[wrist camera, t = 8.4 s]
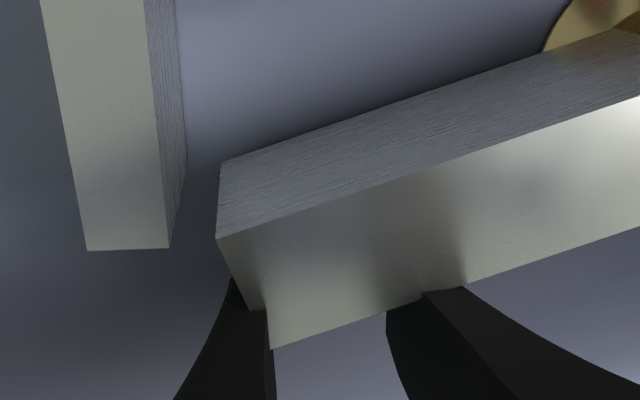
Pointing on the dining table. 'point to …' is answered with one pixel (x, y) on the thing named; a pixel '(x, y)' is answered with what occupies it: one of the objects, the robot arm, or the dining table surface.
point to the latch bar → (437, 188)
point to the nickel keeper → (120, 116)
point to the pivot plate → (588, 20)
